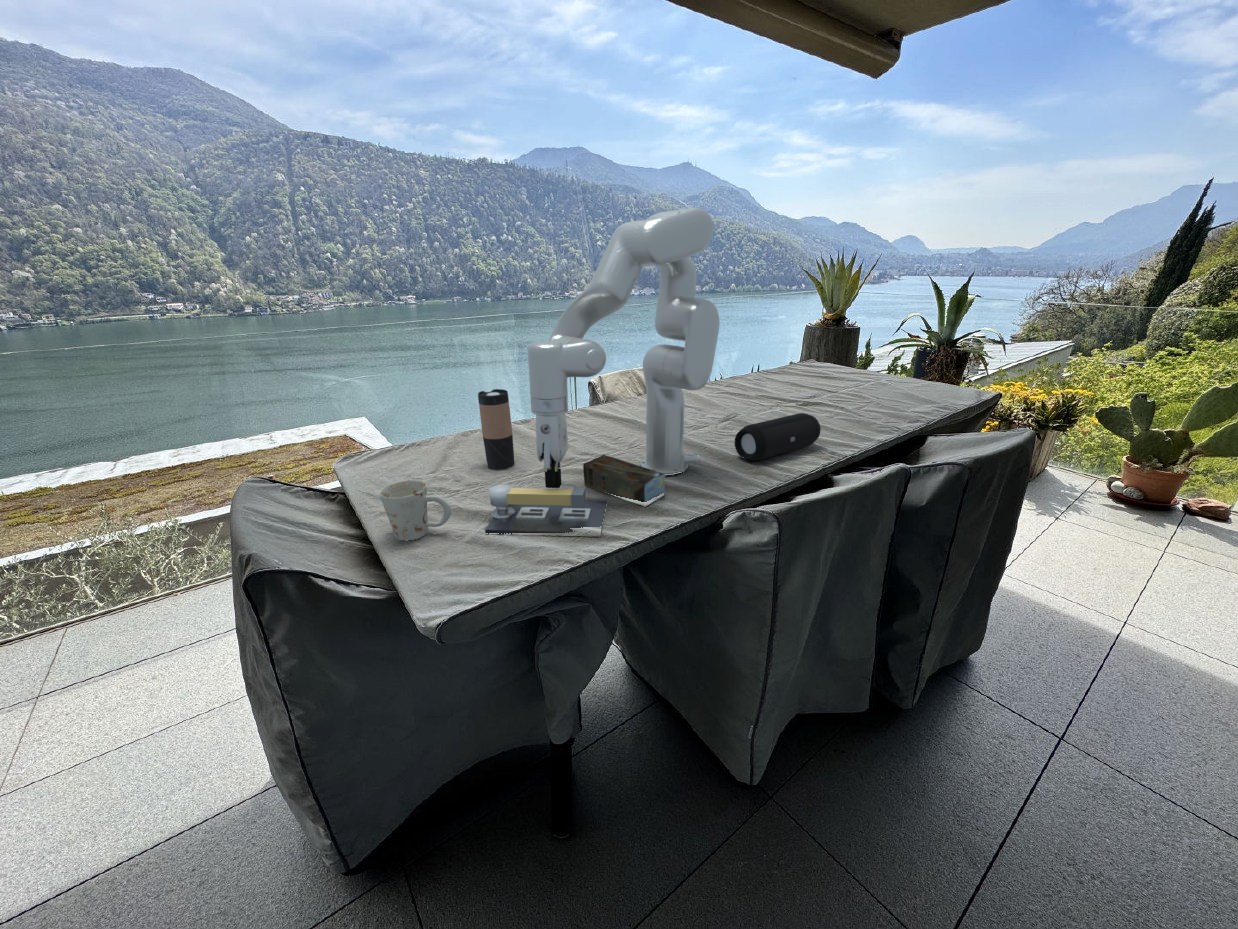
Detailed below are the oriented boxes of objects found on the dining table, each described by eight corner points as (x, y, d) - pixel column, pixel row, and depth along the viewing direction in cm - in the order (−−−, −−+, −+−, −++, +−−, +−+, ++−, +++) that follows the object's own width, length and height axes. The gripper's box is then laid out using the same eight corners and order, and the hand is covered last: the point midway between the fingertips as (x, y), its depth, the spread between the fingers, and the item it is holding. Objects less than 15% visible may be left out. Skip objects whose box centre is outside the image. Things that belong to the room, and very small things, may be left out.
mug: (397, 524, 99) (388, 480, 95) (459, 521, 100) (452, 477, 96) (382, 545, 92) (372, 498, 88) (449, 542, 92) (441, 495, 89)
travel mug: (508, 471, 125) (500, 396, 118) (481, 469, 127) (471, 395, 119) (519, 460, 132) (512, 389, 125) (494, 458, 134) (485, 388, 126)
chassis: (607, 504, 106) (606, 490, 105) (600, 537, 93) (599, 521, 92) (501, 502, 108) (499, 488, 107) (480, 534, 95) (478, 518, 94)
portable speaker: (757, 468, 125) (761, 431, 121) (730, 456, 133) (733, 422, 129) (820, 449, 137) (825, 416, 134) (792, 440, 145) (796, 408, 142)
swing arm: (586, 499, 101) (585, 486, 100) (583, 508, 97) (582, 495, 96) (494, 497, 102) (492, 484, 101) (487, 506, 98) (486, 493, 97)
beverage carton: (644, 509, 105) (644, 481, 102) (582, 486, 116) (580, 461, 114) (665, 497, 110) (666, 470, 108) (604, 476, 122) (603, 452, 119)
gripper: (561, 414, 90) (564, 502, 97) (573, 396, 104) (575, 474, 111) (521, 413, 91) (528, 500, 97) (539, 395, 105) (544, 473, 111)
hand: (553, 486), depth 104 cm, fingers closed
